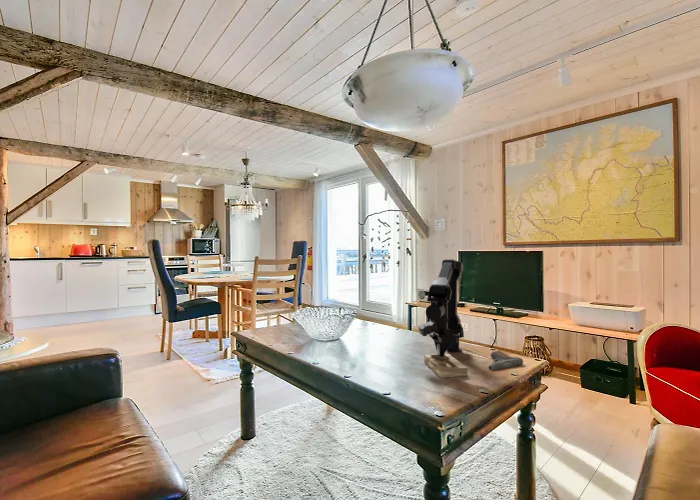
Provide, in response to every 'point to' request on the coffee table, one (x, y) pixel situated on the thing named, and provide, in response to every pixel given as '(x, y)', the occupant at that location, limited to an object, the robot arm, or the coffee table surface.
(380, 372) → the coffee table surface
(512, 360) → the handgun
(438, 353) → the peg
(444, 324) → the robot arm
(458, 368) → the keyhole board
